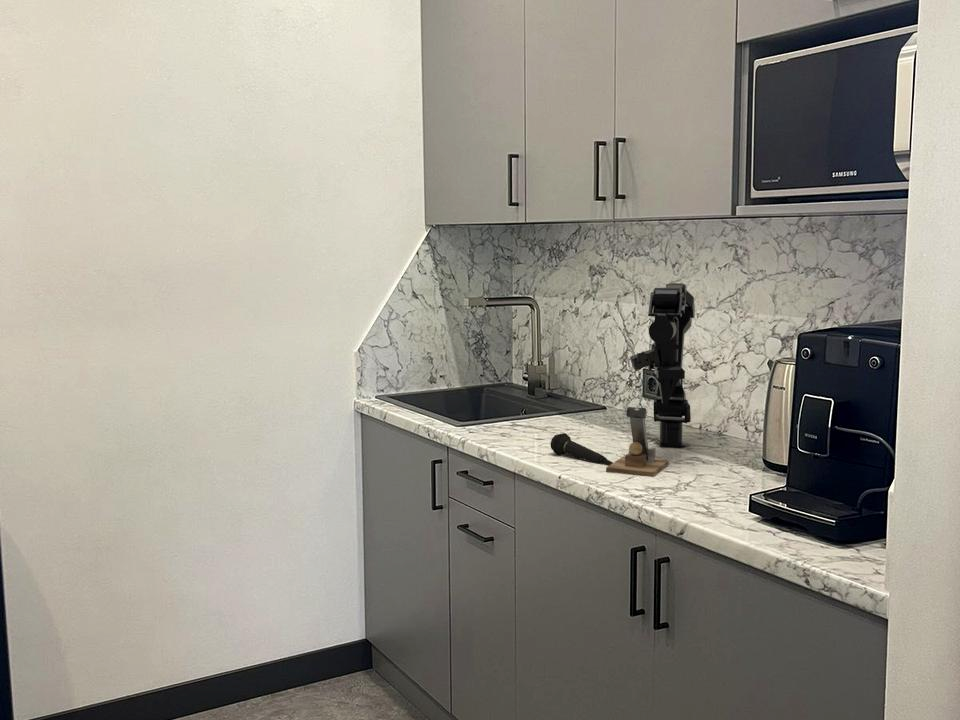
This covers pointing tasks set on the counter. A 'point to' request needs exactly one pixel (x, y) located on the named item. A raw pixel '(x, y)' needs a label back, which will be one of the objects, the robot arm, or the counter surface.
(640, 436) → the lever
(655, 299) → the robot arm
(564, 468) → the counter surface
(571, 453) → the microphone
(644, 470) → the nutcracker base
